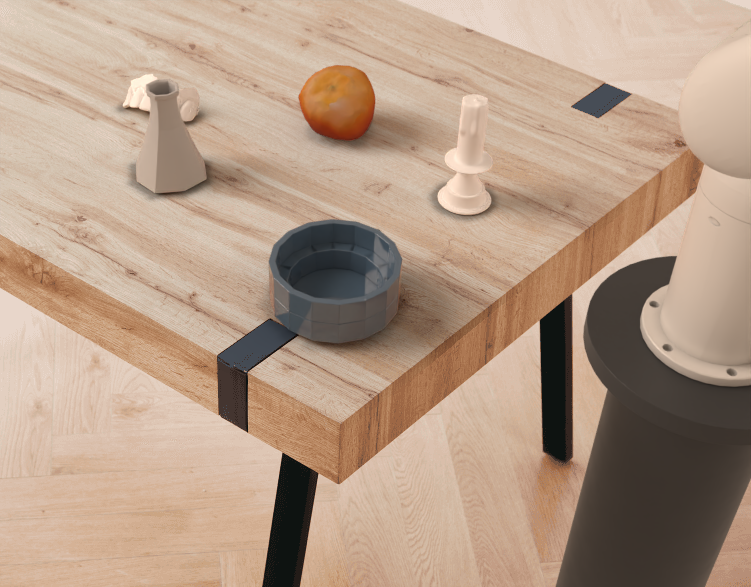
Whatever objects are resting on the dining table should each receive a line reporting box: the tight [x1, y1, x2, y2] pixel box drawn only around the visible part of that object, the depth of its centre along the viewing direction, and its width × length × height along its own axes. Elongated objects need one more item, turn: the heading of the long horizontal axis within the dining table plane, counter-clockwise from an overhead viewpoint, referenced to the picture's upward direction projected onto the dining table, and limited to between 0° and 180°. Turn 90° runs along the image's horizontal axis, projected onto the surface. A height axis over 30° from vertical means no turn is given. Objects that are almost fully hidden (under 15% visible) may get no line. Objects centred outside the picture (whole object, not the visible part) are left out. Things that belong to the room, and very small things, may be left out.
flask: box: [135, 78, 208, 194], centre depth 105 cm, size 7×7×10 cm
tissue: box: [122, 73, 201, 122], centre depth 116 cm, size 6×8×4 cm
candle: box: [437, 93, 494, 216], centre depth 103 cm, size 5×5×12 cm
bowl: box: [268, 218, 403, 344], centre depth 93 cm, size 11×11×5 cm
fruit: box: [298, 64, 376, 142], centre depth 114 cm, size 8×8×8 cm
